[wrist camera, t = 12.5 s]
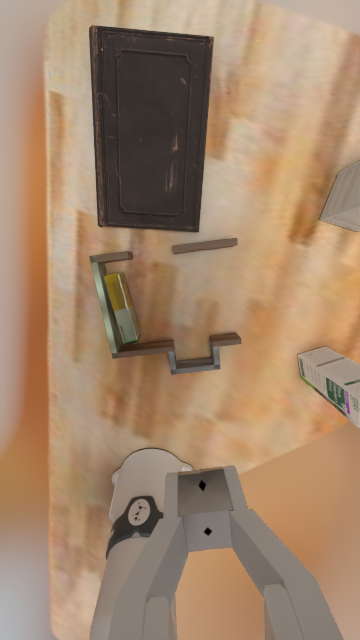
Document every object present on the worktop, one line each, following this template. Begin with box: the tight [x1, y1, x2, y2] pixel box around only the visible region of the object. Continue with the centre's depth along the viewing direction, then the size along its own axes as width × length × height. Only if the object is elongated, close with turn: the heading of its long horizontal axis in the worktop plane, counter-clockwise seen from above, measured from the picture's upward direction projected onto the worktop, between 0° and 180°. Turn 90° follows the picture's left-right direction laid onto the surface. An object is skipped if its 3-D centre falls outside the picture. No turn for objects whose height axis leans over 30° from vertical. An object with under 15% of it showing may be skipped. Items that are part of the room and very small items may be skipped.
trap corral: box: [89, 238, 241, 375], centre depth 34 cm, size 22×23×3 cm
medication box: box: [104, 273, 140, 345], centre depth 34 cm, size 12×3×4 cm, turn 12°
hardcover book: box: [89, 25, 214, 232], centre depth 29 cm, size 16×23×2 cm
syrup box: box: [297, 347, 360, 429], centre depth 32 cm, size 6×6×14 cm
